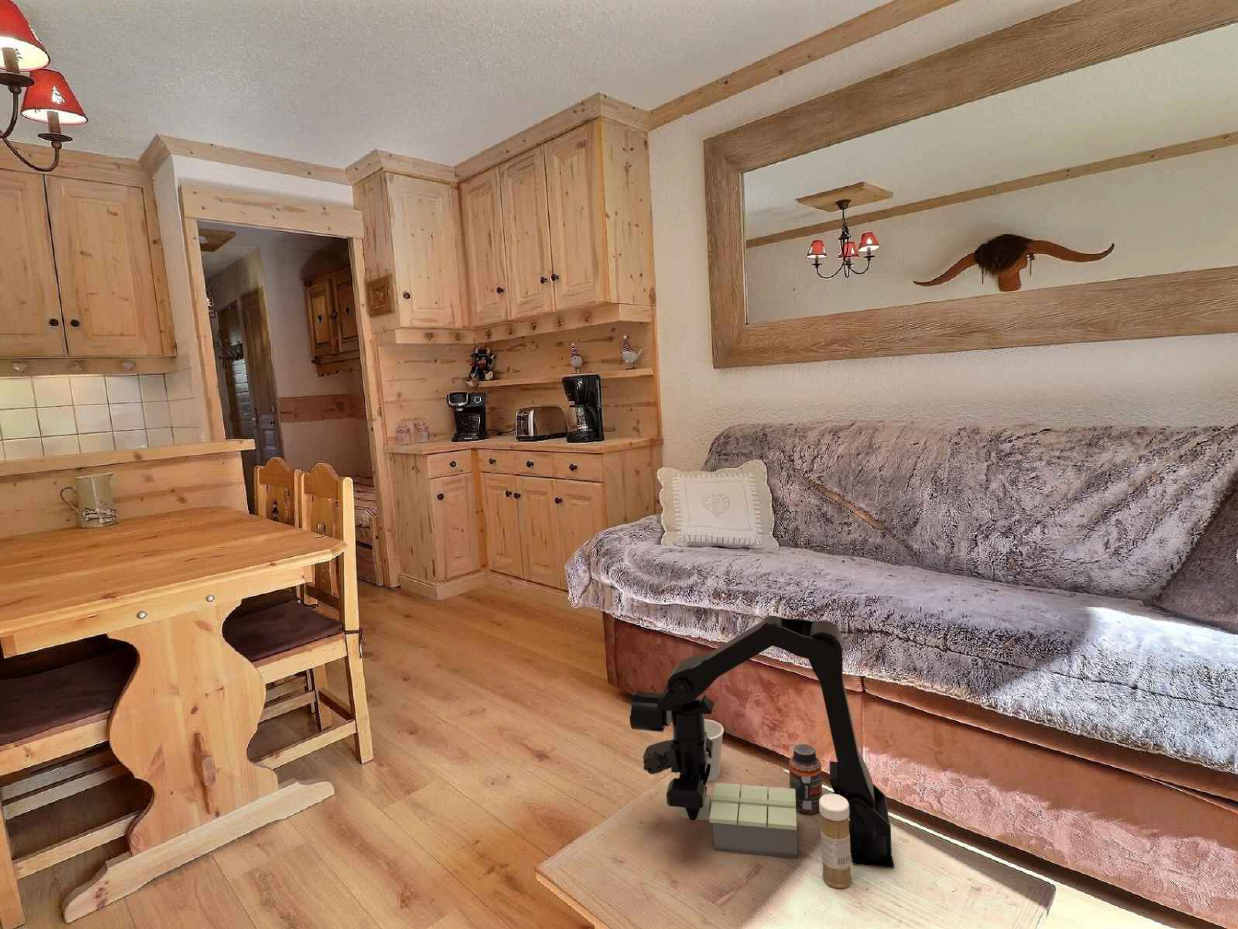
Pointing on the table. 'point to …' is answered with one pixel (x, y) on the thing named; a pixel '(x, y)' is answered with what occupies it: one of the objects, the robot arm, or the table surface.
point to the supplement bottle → (806, 778)
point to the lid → (749, 806)
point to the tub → (755, 839)
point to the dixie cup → (714, 747)
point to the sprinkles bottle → (835, 840)
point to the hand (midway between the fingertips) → (694, 814)
